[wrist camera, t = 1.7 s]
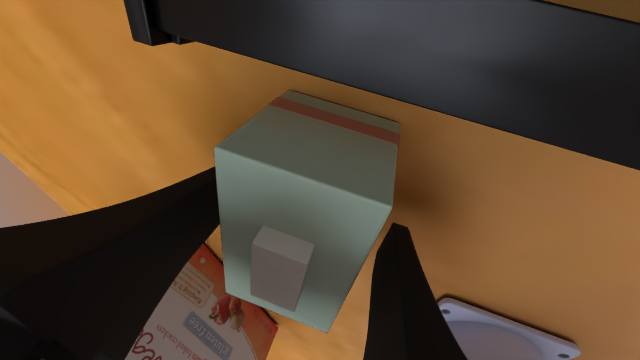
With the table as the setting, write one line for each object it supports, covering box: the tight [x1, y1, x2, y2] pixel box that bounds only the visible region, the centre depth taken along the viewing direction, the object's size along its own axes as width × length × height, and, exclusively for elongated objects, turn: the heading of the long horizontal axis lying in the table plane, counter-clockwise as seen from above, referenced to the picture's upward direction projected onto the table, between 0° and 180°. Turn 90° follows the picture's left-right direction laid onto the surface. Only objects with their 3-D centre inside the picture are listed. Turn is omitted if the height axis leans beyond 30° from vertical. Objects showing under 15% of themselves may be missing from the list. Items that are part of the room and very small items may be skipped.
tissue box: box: [214, 90, 400, 333], centre depth 11 cm, size 8×5×6 cm, turn 169°
